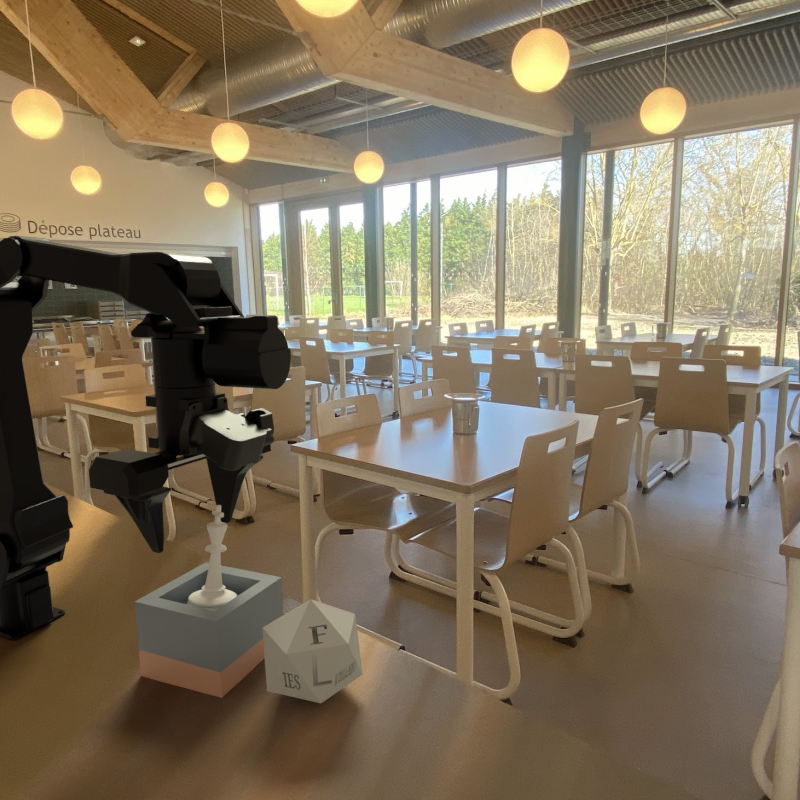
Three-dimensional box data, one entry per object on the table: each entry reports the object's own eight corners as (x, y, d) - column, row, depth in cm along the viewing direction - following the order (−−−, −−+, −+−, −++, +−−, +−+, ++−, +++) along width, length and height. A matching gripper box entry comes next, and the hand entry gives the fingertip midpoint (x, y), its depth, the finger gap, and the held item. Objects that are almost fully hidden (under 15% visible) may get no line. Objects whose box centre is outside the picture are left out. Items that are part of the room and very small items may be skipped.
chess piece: (224, 592, 69) (229, 498, 68) (246, 606, 65) (252, 507, 64) (178, 600, 65) (184, 502, 65) (199, 616, 62) (205, 512, 61)
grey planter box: (141, 677, 64) (134, 601, 62) (210, 629, 73) (205, 562, 71) (222, 702, 59) (216, 621, 58) (284, 648, 68) (281, 577, 67)
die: (271, 742, 54) (265, 631, 52) (264, 682, 62) (258, 584, 61) (371, 723, 56) (368, 615, 54) (350, 667, 64) (348, 572, 63)
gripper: (169, 406, 51) (180, 590, 54) (309, 378, 68) (312, 521, 70) (78, 395, 56) (92, 564, 59) (228, 372, 73) (234, 505, 75)
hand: (193, 536), depth 66 cm, fingers open, 9 cm apart
